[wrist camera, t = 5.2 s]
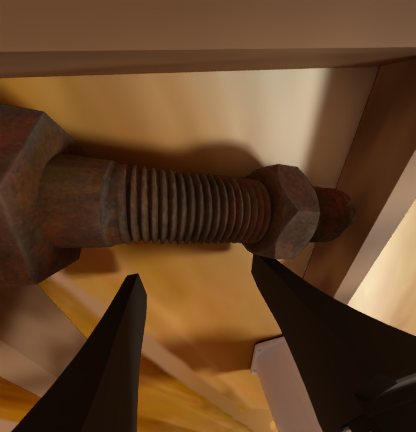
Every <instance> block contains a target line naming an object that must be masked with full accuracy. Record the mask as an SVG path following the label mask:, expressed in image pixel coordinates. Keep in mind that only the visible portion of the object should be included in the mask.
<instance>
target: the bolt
mask: <svg viewBox="0 0 416 432" xmlns="http://www.w3.org/2000/svg"><path fill="white" fill-rule="evenodd" d="M350 200H351V198H350V197H349V195H348V194H346V193H344V192H343V191H340V190H337V189H330V188H319V187H313V186H312V185H311V184H310V182H309V181H308V179H307V177H306V176H305V175H304V174H303V173H302V172H301V171H300V169H299V168H298V167H293V166H287V165H281V164H276V165H272V166H267V167H264V168H261V169H257V170H255V171H253V172H252V173H251V174H250V175H249V176H248V177H247V178H246V179H244V178H237V177H233V178H232V177H225V176H217V175H214V176H211V175H210V174H207V175H204V174H203V173H199V174H198V175H197V174H196V173H191V174H189V172H184V173H183V174H181V172H180V171H176V173H175V174H174V173H173V171H172V170H168V172H167V174H166V172H165V171H164V169H160V171H159V173H158V172H157V171H156V169H155V167H154V168H152V169H151V171H150V172H149V171H148V169H147V168H146V166H143V168H142V170H141V171H140V169H139V168H138V167H137V165H135V166H133V168H132V169H131V168H130V167H129V166H128V165H127V164H119V163H117V162H116V161H114V160H106V159H98V158H89V157H83V153H82V147H81V146H80V145H79V144H78V143H77V142H76V141H75V140H74V139H73V138H71V137H70V136H69V135H68V134H67V133H66V132H65V131H64V130H63V129H62V128H61V127H60V126H59V125H58V124H57V123H56V122H54V121H53V120H52V119H51V118H50V117H49V116H48V115H47V114H46V113H45V112H43V111H38V110H32V109H26V108H20V107H15V106H9V105H3V104H0V287H3V286H19V285H36V284H38V283H40V282H41V281H43V280H45V279H46V278H48V277H50V276H51V275H53V274H55V273H56V272H58V271H60V270H61V269H63V268H65V267H66V266H68V265H70V264H71V263H73V262H75V261H76V260H78V259H79V256H80V252H81V248H82V247H112V246H114V245H118V244H122V243H125V244H130V243H131V242H132V240H134V242H135V243H136V244H138V243H139V242H140V241H141V240H142V239H143V241H144V243H145V244H146V243H148V242H149V240H150V239H152V242H153V244H155V243H156V242H157V241H158V240H159V239H160V241H161V244H164V243H165V241H166V240H167V239H168V241H169V244H172V243H173V241H174V240H176V242H177V244H180V243H181V241H182V240H183V241H184V242H185V244H188V242H189V241H190V240H191V242H192V243H193V244H194V243H196V242H197V241H198V243H200V244H203V242H204V241H205V243H208V244H209V243H211V242H212V243H217V242H219V243H224V242H226V243H230V242H232V243H237V242H238V243H242V244H243V245H244V247H245V248H246V249H247V250H248V251H249V252H251V253H253V254H256V255H259V256H263V257H267V258H272V259H291V258H295V257H296V256H297V255H298V254H299V253H300V252H301V251H302V250H303V249H304V248H305V246H306V245H307V243H308V242H329V241H332V240H334V239H336V238H338V237H339V236H340V235H341V234H342V232H343V231H344V230H345V229H346V228H348V227H349V226H350V225H351V224H352V221H353V220H354V219H355V218H356V217H357V210H356V207H355V204H354V205H352V206H351V204H350V205H348V206H347V204H348V203H349V202H350Z"/></svg>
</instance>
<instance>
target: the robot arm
mask: <svg viewBox="0 0 416 432" xmlns="http://www.w3.org/2000/svg"><path fill="white" fill-rule="evenodd" d="M251 273H252V275H253V278H254V280H255V282H256V285H257V287H258V289H259V291H260V293H261V294H262V296H263V298H264V300H265V302H266V303H267V305H268V307H269V309H270V311H271V312H272V314H273V316H274V318H275V319H276V321H277V323H278V325H279V327H280V329H281V331H282V334H283V337H279V338H276V339H272V340H269V341H265V342H262V343H258V344H256V345H255V349H254V354H253V359H252V364H251V369H250V372H251V374H255V373H257V374H258V376H259V379H260V382H261V385H262V388H263V391H264V393H265V396H266V399H267V402H268V405H269V408H270V410H271V413H272V416H273V419H274V422H275V425H276V427H277V429H278V431H279V432H416V336H414V335H411V334H409V333H407V332H404V331H402V330H399V329H397V328H394V327H392V326H390V325H387V324H385V323H383V322H381V321H378V320H376V319H374V318H372V317H370V316H368V315H365V314H363V313H361V312H359V311H357V310H355V309H353V308H351V307H349V306H347V305H346V304H344V303H342V302H340V301H338V300H336V299H334V298H333V297H331V296H329V295H327V294H326V293H324V292H322V291H321V290H319V289H317V288H316V287H314V286H313V285H311V284H310V283H308V282H307V281H305V280H304V279H302V278H301V277H299V276H298V275H296V274H295V273H294V272H292V271H291V270H289V269H288V268H287V267H285V266H284V265H283V264H281V263H280V262H279V261H278V260H276V259H272V258H267V257H263V256H259V255H256V254H253V261H252V270H251ZM146 309H147V294H146V291H145V289H144V286H143V284H142V281H141V279H140V276H139V274H138V273H137V274H132V275H127V277H126V278H125V280H124V282H123V283H122V285H121V287H120V289H119V291H118V292H117V294H116V296H115V297H114V299H113V301H112V302H111V304H110V306H109V307H108V309H107V311H106V312H105V314H104V315H103V317H102V319H101V320H100V322H99V323H98V325H97V326H96V328H95V329H94V331H93V332H92V334H91V335H90V336H89V338H88V339H87V341H86V342H85V343H84V345H83V346H82V348H81V349H80V350H79V352H78V353H77V354H76V356H75V357H74V358H73V360H72V361H71V362H70V363H69V365H68V366H67V367H66V368H65V370H64V371H63V372H62V373H61V375H60V376H59V377H58V378H57V380H56V381H55V382H54V383H53V385H52V386H51V387H50V388H49V389H48V391H47V392H46V393H45V394H44V395H43V396H42V398H41V399H40V400H39V401H38V402H37V403H36V404H35V405H34V407H33V408H32V409H31V410H30V411H29V412H28V413H27V415H26V416H25V417H24V418H23V419H22V420H21V421H20V423H19V424H18V425H17V426H16V427H15V428H14V429H13V430H12V431H11V432H137V405H138V382H139V365H140V356H141V349H142V341H143V334H144V327H145V320H146Z"/></svg>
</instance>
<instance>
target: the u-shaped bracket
mask: <svg viewBox="0 0 416 432" xmlns="http://www.w3.org/2000/svg"><path fill="white" fill-rule="evenodd" d="M370 66H380V69H379V72H378V74H377V77H376V80H375V83H374V85H373V88H372V91H371V94H370V96H369V99H368V102H367V105H366V107H365V110H364V113H363V116H362V118H361V121H360V124H359V127H358V129H357V132H356V135H355V138H354V140H353V143H352V146H351V149H350V151H349V154H348V157H347V160H346V162H345V165H344V168H343V171H342V173H341V176H340V179H339V182H338V184H337V187H336V189H337V190H340V191H343V192H344V193H346V194H348V195H349V197H350V198H351V200H350V202H349V203H348V204H347V206H348V205H350V204H351V206H352V205H354V204H355V207H356V210H357V217H356V218H355V219H354V220H353V221H352V224H351V225H350V226H349V227H348V228H346V229H345V230H344V231H343V232H342V234H341V235H340V236H339V237H338V238H336V239H334V240H332V241H329V242H316V245H315V248H314V250H313V253H312V256H311V259H310V261H309V264H308V267H307V270H306V272H305V275H304V278H303V279H304V280H305V281H307V282H308V283H310V284H311V285H313V286H314V287H316V288H317V289H319V290H321V291H322V292H324V293H326V294H327V295H329V296H331V297H333V298H334V299H336V300H338V301H340V302H342V303H344V304H346V305H347V304H348V302H349V301H350V299H351V298H352V296H353V295H354V293H355V292H356V290H357V288H358V287H359V285H360V284H361V282H362V281H363V279H364V278H365V276H366V275H367V273H368V272H369V270H370V268H371V267H372V265H373V264H374V262H375V261H376V259H377V258H378V256H379V255H380V253H381V251H382V250H383V248H384V247H385V245H386V244H387V242H388V241H389V239H390V238H391V236H392V234H393V233H394V231H395V230H396V228H397V227H398V225H399V224H400V222H401V221H402V219H403V218H404V216H405V214H406V213H407V211H408V210H409V208H410V207H411V205H412V204H413V202H414V201H415V199H416V0H0V78H15V77H47V76H80V75H112V74H144V73H176V72H209V71H241V70H273V69H305V68H337V67H370ZM86 341H87V339H86V338H85V337H84V335H83V334H82V333H81V332H80V331H79V330H78V329H77V328H76V327H75V326H74V324H73V323H72V322H71V321H70V320H69V319H68V318H67V317H66V316H65V315H64V313H63V312H62V311H61V310H60V309H59V308H58V307H57V306H56V305H55V304H54V303H53V301H52V300H51V299H50V298H49V297H48V296H47V295H46V294H45V293H44V292H43V290H42V289H41V288H40V287H39V286H38V285H37V284H36V285H19V286H3V287H0V377H2V378H4V379H6V380H8V381H10V382H12V383H14V384H16V385H18V386H20V387H22V388H24V389H26V390H28V391H29V392H31V393H33V394H35V395H37V396H39V397H41V398H42V396H43V395H44V394H45V393H46V392H47V391H48V389H49V388H50V387H51V386H52V385H53V383H54V382H55V381H56V380H57V378H58V377H59V376H60V375H61V373H62V372H63V371H64V370H65V368H66V367H67V366H68V365H69V363H70V362H71V361H72V360H73V358H74V357H75V356H76V354H77V353H78V352H79V350H80V349H81V348H82V346H83V345H84V343H85V342H86Z"/></svg>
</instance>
